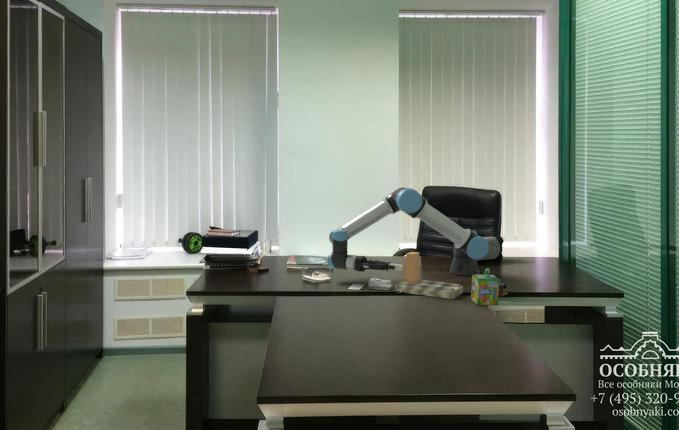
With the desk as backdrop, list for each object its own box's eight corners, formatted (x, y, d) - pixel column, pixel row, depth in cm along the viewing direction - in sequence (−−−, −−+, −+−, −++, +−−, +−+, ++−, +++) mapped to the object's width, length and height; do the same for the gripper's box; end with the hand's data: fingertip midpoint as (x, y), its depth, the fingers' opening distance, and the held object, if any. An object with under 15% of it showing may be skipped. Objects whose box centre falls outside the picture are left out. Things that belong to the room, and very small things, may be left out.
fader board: (394, 291, 266) (394, 282, 266) (405, 286, 278) (405, 277, 277) (453, 299, 253) (453, 289, 252) (462, 293, 264) (462, 283, 264)
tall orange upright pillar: (405, 283, 267) (406, 253, 266) (410, 281, 272) (411, 251, 271) (413, 284, 265) (414, 254, 264) (418, 282, 270) (419, 252, 269)
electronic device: (503, 297, 255) (503, 280, 255) (483, 294, 262) (484, 277, 262) (508, 296, 259) (508, 279, 258) (489, 292, 265) (489, 276, 265)
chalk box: (470, 300, 250) (471, 266, 249) (491, 300, 251) (492, 266, 250) (477, 305, 241) (478, 270, 240) (498, 305, 242) (500, 270, 240)
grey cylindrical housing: (449, 261, 346) (450, 236, 345) (487, 257, 358) (488, 233, 357) (465, 265, 333) (466, 239, 331) (504, 261, 345) (505, 236, 344)
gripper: (363, 268, 288) (407, 273, 277) (350, 273, 277) (396, 278, 265) (363, 253, 288) (407, 257, 276) (350, 257, 276) (396, 262, 265)
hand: (401, 267), depth 271 cm, fingers closed
